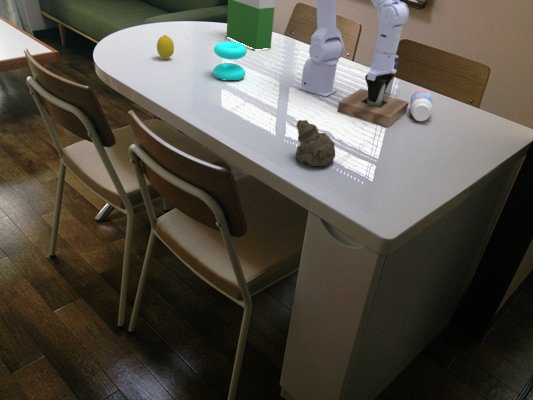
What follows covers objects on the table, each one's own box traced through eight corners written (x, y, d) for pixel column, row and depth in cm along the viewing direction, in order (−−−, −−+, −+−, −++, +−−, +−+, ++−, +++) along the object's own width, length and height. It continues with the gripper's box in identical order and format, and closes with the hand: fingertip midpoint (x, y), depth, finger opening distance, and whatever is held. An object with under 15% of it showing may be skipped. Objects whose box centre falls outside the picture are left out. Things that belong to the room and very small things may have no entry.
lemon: (177, 59, 165) (177, 35, 160) (166, 63, 161) (165, 38, 156) (165, 55, 167) (164, 31, 163) (153, 59, 163) (152, 34, 159)
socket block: (337, 111, 138) (339, 101, 136) (359, 97, 149) (361, 88, 147) (387, 127, 132) (389, 117, 130) (406, 111, 143) (408, 102, 141)
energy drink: (390, 97, 152) (399, 58, 145) (373, 94, 152) (381, 56, 146) (390, 91, 156) (398, 54, 150) (373, 89, 157) (381, 51, 150)
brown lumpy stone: (312, 118, 117) (279, 125, 111) (346, 107, 107) (312, 114, 102) (323, 164, 118) (291, 173, 112) (358, 158, 108) (324, 168, 103)
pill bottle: (425, 85, 141) (426, 98, 132) (435, 102, 143) (437, 116, 134) (406, 96, 144) (405, 109, 135) (416, 113, 146) (416, 127, 137)
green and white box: (226, 39, 192) (229, -28, 179) (241, 37, 196) (244, -29, 183) (255, 51, 181) (261, -19, 168) (270, 48, 185) (276, -20, 173)
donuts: (221, 50, 144) (209, 41, 151) (219, 83, 149) (208, 72, 156) (252, 49, 148) (239, 40, 155) (249, 81, 153) (237, 70, 160)
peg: (364, 107, 139) (369, 83, 135) (368, 103, 142) (373, 80, 138) (377, 111, 137) (382, 87, 134) (382, 107, 140) (387, 83, 137)
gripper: (389, 59, 124) (378, 110, 131) (409, 49, 134) (397, 96, 142) (364, 53, 127) (354, 103, 134) (385, 43, 137) (375, 89, 145)
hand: (375, 99), depth 138 cm, fingers closed on peg, 4 cm apart
